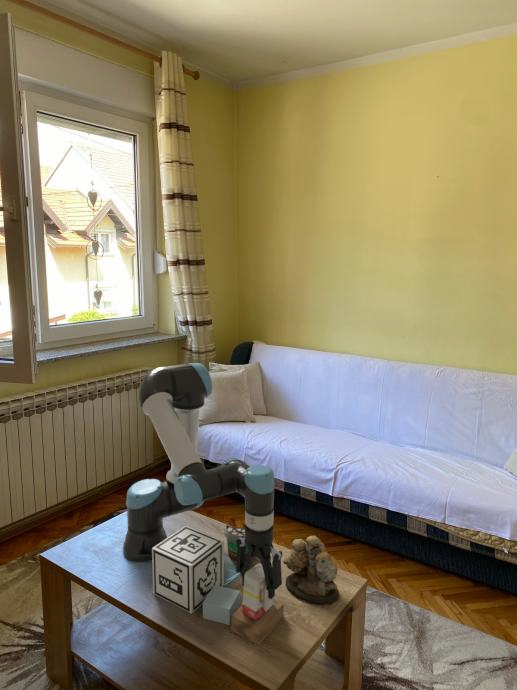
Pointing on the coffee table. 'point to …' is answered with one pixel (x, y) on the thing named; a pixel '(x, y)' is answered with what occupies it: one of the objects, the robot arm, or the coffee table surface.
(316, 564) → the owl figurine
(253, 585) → the ink box
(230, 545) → the food container
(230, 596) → the slate block
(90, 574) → the coffee table surface
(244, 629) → the walnut block
